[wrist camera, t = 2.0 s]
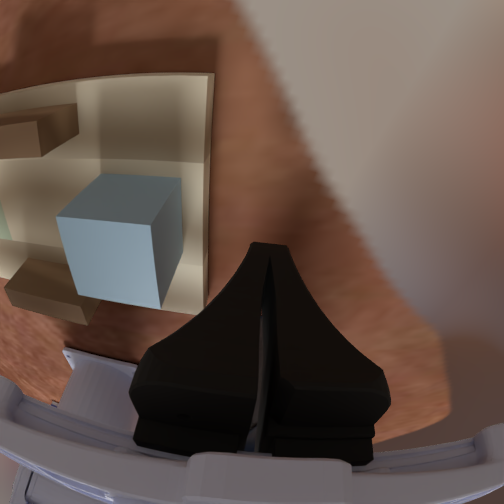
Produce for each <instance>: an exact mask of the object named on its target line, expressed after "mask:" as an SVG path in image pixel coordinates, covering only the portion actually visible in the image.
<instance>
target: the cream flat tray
mask: <svg viewBox="0 0 504 504" xmlns="http://www.w3.org/2000/svg"><path fill="white" fill-rule="evenodd" d="M214 77H215V73H140V74H123V75H111V76H100V77H91V78H82V79H75V80H68V81H61V82H55V83H49V84H44V85H38V86H33V87H28V88H23V89H19V90H14V91H10V92H6V93H2V94H0V277H2V278H6V279H10V280H9V282H8V283H7V284H6V286H5V287H4V289H5V291H6V293H7V295H8V297H9V300H10V302H11V304H12V306H16V307H19V308H22V309H26V310H29V311H33V312H36V313H40V314H43V315H47V316H51V317H55V318H58V319H62V320H66V321H70V322H74V323H79V324H83V325H87V326H88V325H89V323H90V321H91V319H92V317H93V315H94V313H95V311H96V309H97V308H98V306H99V304H100V302H101V300H103V299H98V298H93V297H88V296H83V295H78V292H77V289H76V286H75V283H74V280H73V277H72V274H71V271H70V268H69V264H68V261H67V258H66V254H65V251H64V247H63V244H62V240H61V236H60V232H59V228H58V224H57V220H56V215H57V214H58V213H59V212H60V211H61V210H62V209H63V208H64V207H66V206H67V205H68V204H69V203H70V202H71V201H72V200H73V199H74V198H75V197H76V196H77V195H78V194H79V193H80V192H81V191H82V190H83V189H84V188H86V187H87V186H88V185H89V184H90V183H91V182H92V181H93V180H94V179H95V178H97V177H98V176H99V175H100V174H125V175H145V176H161V177H176V178H181V206H182V237H183V254H182V256H181V259H180V261H179V264H178V266H177V269H176V271H175V274H174V276H173V279H172V281H171V284H170V287H169V289H168V292H167V294H166V297H165V300H164V302H163V305H162V308H161V309H160V310H166V311H173V312H179V313H186V314H193V315H198V314H199V313H200V312H201V311H202V310H203V309H204V308H205V307H206V304H207V300H208V215H209V178H210V151H211V129H212V110H213V93H214ZM107 301H108V300H107ZM113 302H114V301H113ZM118 303H119V302H118ZM124 304H125V303H124ZM129 305H131V304H129ZM135 306H137V305H135ZM141 307H143V306H141ZM147 308H149V307H147ZM153 309H155V308H153Z"/></svg>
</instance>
